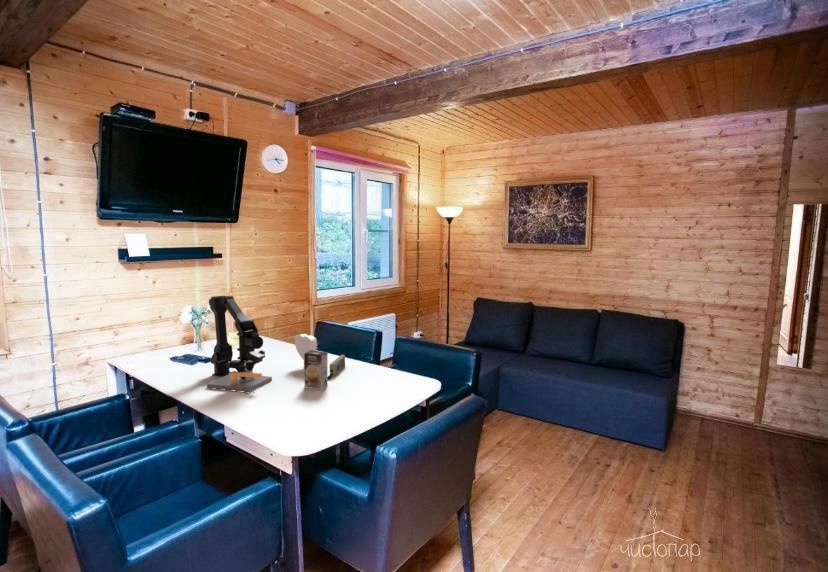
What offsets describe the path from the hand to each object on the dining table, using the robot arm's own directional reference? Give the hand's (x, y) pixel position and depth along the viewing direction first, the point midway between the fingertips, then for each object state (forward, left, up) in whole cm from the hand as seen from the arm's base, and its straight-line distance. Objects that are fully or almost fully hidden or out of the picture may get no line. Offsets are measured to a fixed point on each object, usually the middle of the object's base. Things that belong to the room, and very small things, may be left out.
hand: (246, 378), depth 209 cm
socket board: (-2, -2, -2) cm, 4 cm away
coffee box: (+33, +6, -3) cm, 34 cm away
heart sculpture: (+14, +31, -3) cm, 34 cm away
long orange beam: (+6, -8, 0) cm, 10 cm away
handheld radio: (+32, +29, -3) cm, 43 cm away
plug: (0, 0, -3) cm, 3 cm away
